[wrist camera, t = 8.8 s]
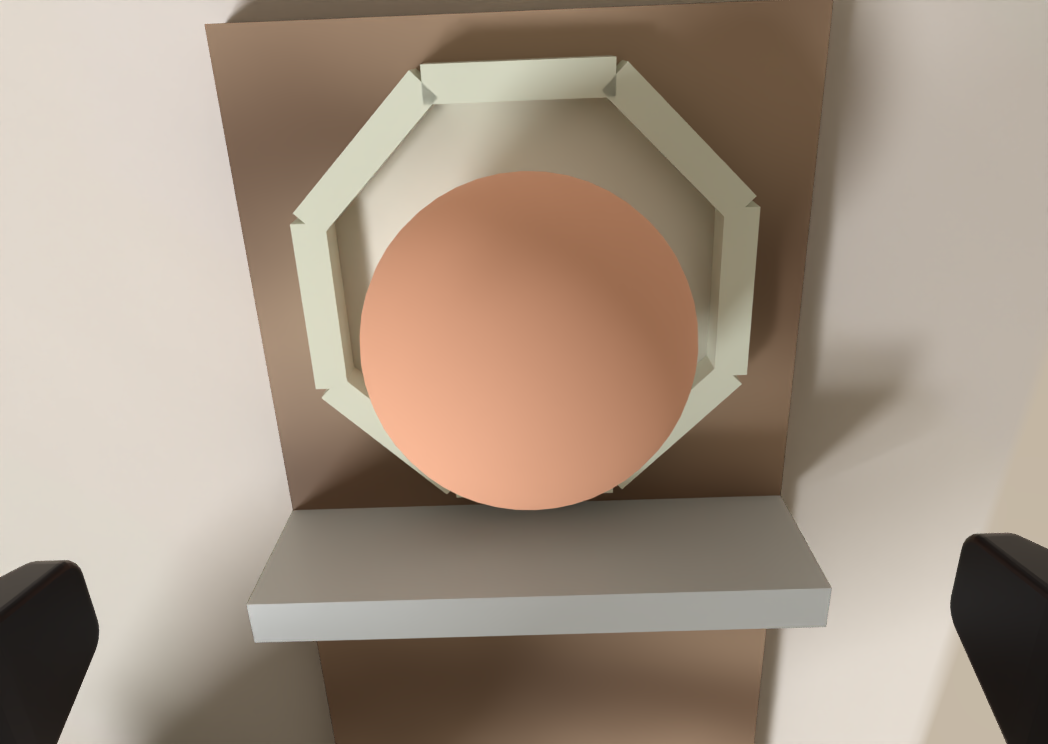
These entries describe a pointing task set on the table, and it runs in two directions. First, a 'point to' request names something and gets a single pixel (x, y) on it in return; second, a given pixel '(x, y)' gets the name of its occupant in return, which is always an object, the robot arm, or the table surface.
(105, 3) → the table surface
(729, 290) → the ring
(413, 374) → the rubber ball
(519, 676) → the fence board
